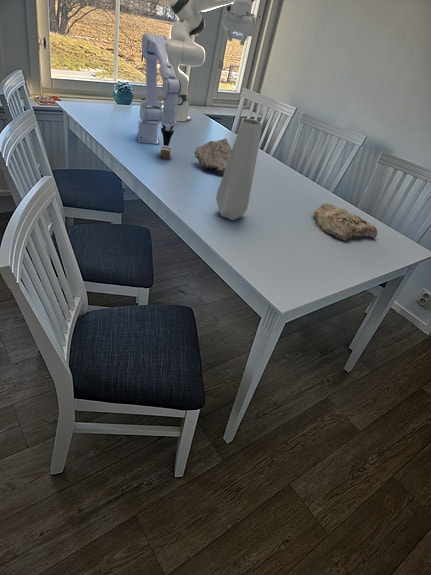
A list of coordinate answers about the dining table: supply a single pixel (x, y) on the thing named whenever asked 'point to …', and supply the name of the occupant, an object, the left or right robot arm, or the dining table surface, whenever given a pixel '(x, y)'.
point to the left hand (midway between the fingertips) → (166, 142)
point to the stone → (343, 223)
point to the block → (165, 153)
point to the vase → (239, 171)
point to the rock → (214, 155)
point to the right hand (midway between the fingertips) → (235, 42)
